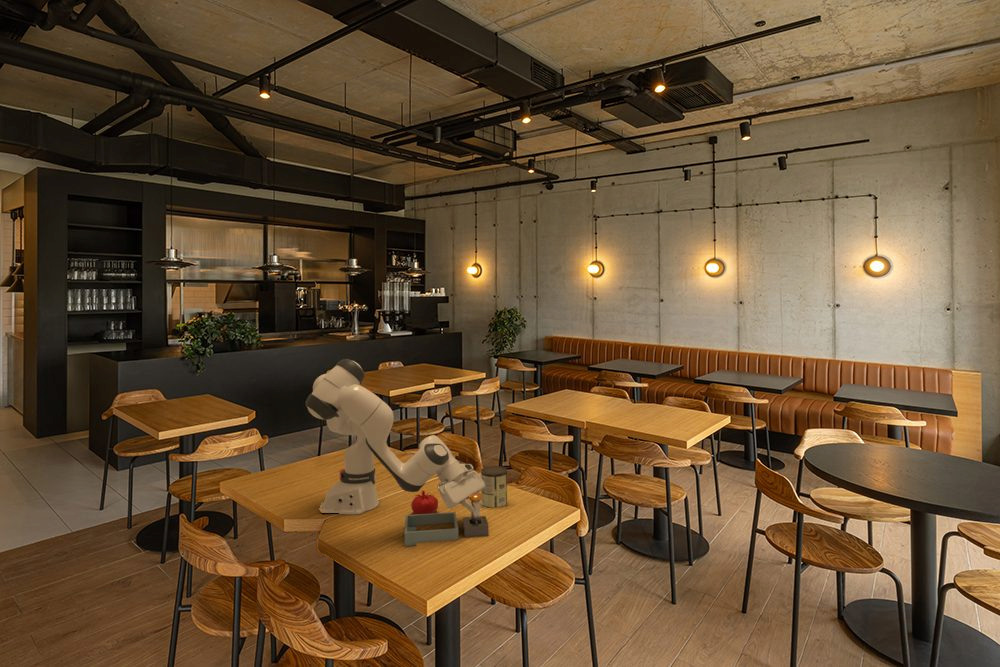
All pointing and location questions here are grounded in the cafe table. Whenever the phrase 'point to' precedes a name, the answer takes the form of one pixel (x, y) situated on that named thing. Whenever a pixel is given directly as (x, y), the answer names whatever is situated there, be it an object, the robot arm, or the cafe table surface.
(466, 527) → the dark grey socket block
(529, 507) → the cafe table surface
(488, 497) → the coffee can
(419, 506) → the red round piece
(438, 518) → the tray
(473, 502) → the lock pin
